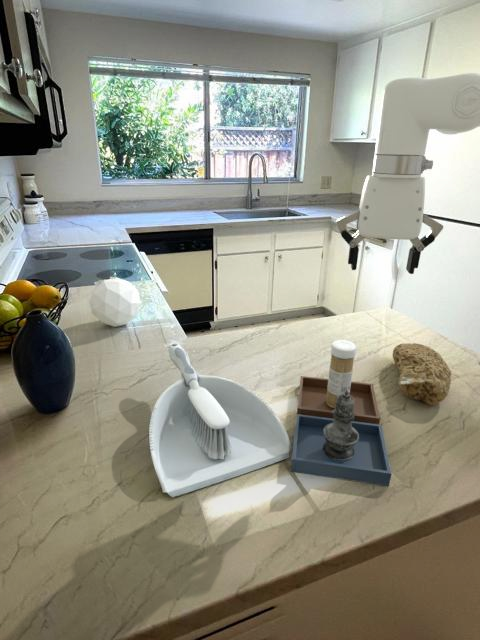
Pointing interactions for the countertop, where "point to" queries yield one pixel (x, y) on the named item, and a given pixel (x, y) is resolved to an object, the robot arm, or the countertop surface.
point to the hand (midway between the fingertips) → (381, 270)
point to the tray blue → (311, 459)
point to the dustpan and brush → (210, 430)
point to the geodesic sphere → (114, 301)
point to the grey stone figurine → (341, 430)
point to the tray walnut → (315, 405)
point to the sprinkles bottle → (340, 370)
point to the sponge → (422, 373)
